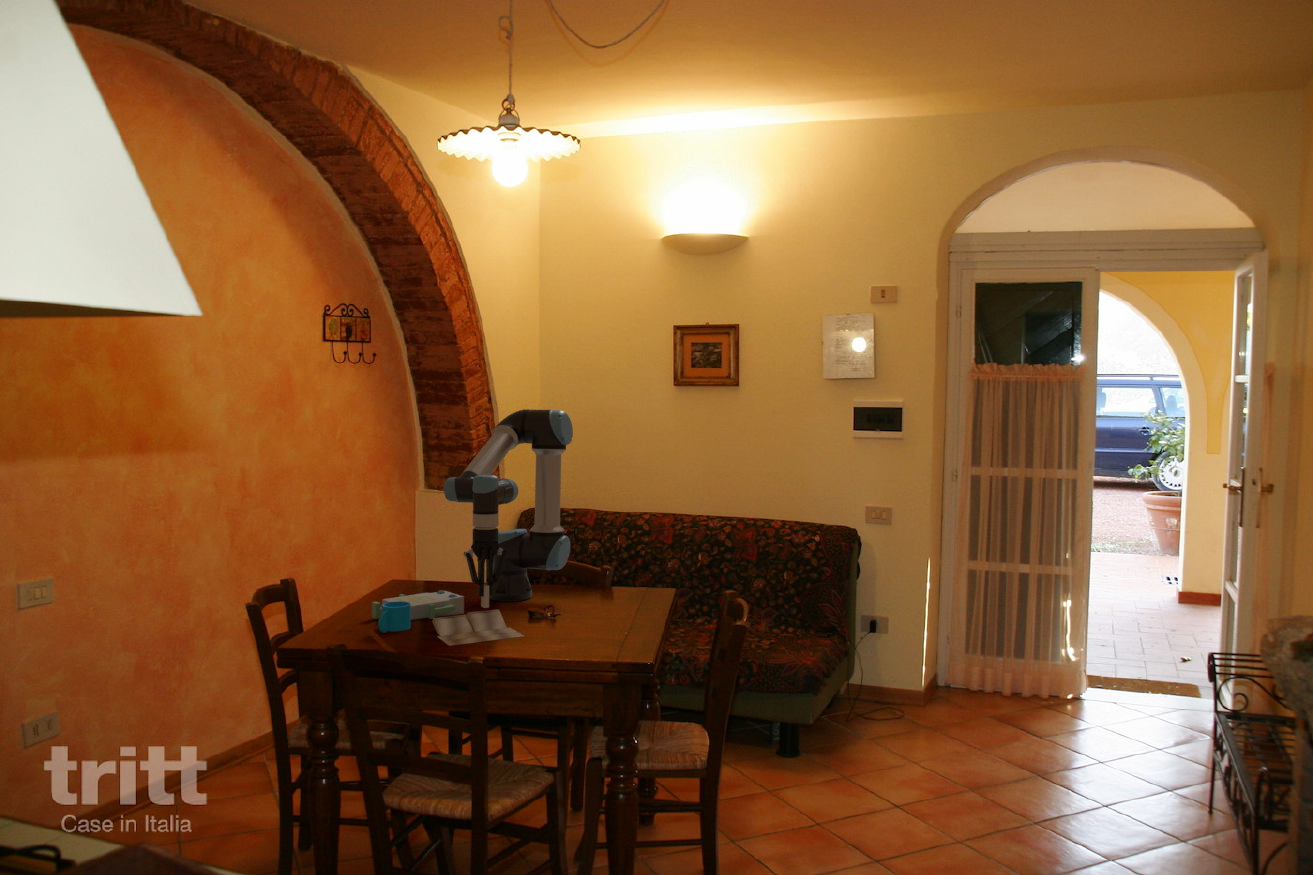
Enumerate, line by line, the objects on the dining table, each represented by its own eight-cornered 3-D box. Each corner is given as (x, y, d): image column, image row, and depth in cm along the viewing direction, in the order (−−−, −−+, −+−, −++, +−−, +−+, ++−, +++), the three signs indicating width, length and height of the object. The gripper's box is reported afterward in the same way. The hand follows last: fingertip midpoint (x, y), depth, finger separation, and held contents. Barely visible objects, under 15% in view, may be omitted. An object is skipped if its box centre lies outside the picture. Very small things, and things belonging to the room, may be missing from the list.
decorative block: (438, 586, 310) (471, 596, 296) (438, 605, 311) (471, 616, 296) (365, 597, 293) (396, 608, 278) (365, 617, 293) (396, 630, 279)
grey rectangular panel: (474, 634, 272) (475, 631, 272) (466, 615, 278) (467, 612, 278) (506, 630, 277) (507, 627, 277) (497, 612, 283) (498, 609, 283)
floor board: (510, 631, 277) (510, 627, 277) (524, 640, 268) (524, 635, 268) (436, 640, 266) (436, 636, 266) (449, 649, 257) (449, 645, 256)
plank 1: (440, 639, 267) (440, 635, 267) (432, 621, 273) (433, 618, 273) (473, 634, 272) (473, 631, 272) (465, 618, 278) (465, 614, 278)
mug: (393, 627, 281) (393, 600, 280) (416, 630, 278) (416, 602, 277) (367, 637, 269) (367, 608, 269) (391, 640, 267) (391, 611, 266)
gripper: (501, 524, 284) (501, 602, 285) (460, 527, 277) (459, 606, 278) (511, 527, 277) (510, 607, 278) (468, 530, 271) (468, 611, 272)
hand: (485, 606), depth 278 cm, fingers closed
